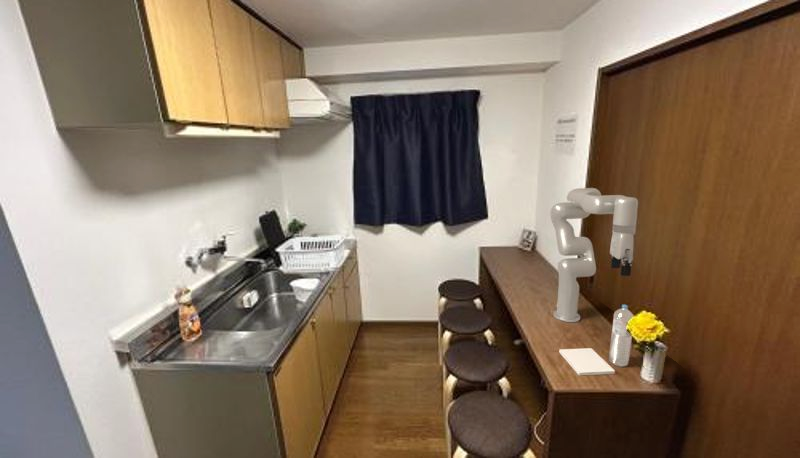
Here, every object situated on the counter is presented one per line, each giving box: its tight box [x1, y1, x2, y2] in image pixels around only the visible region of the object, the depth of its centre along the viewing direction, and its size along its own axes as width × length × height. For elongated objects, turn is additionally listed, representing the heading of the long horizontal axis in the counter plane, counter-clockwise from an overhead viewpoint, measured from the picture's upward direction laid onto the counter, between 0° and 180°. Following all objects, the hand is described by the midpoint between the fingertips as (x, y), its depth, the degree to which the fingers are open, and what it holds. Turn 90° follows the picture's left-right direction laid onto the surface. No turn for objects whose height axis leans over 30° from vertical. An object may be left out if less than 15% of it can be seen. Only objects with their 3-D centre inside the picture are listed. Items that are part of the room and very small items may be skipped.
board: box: [558, 347, 616, 376], centre depth 139 cm, size 16×14×1 cm
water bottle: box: [608, 304, 635, 368], centre depth 136 cm, size 7×7×25 cm
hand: (620, 271), depth 135 cm, fingers open, 9 cm apart
